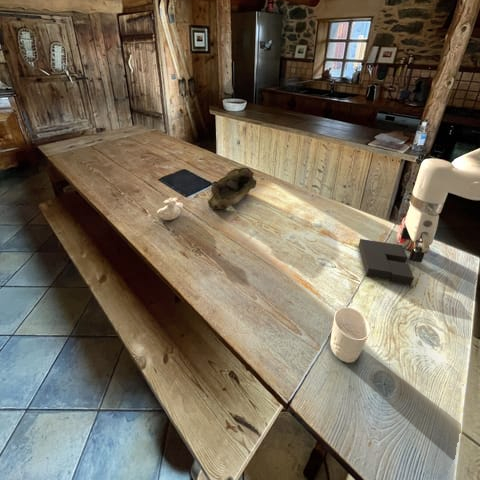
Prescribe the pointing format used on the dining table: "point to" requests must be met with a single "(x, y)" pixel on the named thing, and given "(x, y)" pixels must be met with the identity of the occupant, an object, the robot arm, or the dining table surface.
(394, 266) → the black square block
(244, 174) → the hollow geode rock
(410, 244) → the soda can
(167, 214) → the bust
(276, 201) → the dining table surface
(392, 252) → the dark l-shaped block
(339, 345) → the white cup
